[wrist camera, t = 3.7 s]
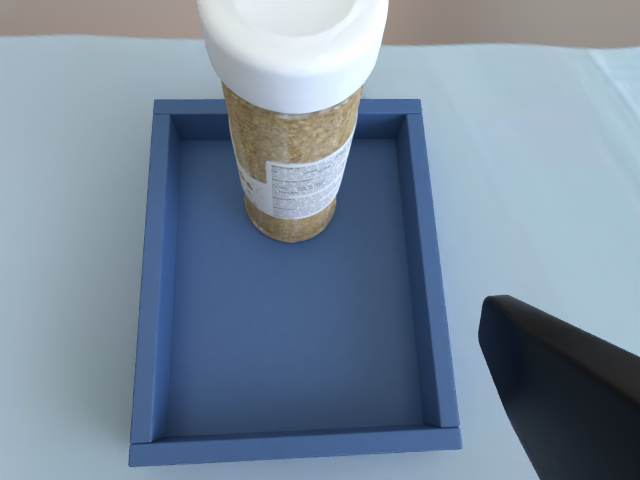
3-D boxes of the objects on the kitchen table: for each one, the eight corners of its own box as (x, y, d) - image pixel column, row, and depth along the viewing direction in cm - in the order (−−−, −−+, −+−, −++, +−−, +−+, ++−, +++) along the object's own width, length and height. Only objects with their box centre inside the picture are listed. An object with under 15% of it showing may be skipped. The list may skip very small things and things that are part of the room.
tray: (441, 442, 21) (463, 449, 19) (148, 457, 20) (127, 467, 18) (407, 129, 26) (420, 98, 23) (168, 130, 25) (153, 99, 22)
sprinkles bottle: (239, 166, 24) (184, -86, 11) (328, 155, 25) (371, -98, 12) (251, 253, 23) (202, 77, 10) (344, 239, 23) (411, 56, 11)
